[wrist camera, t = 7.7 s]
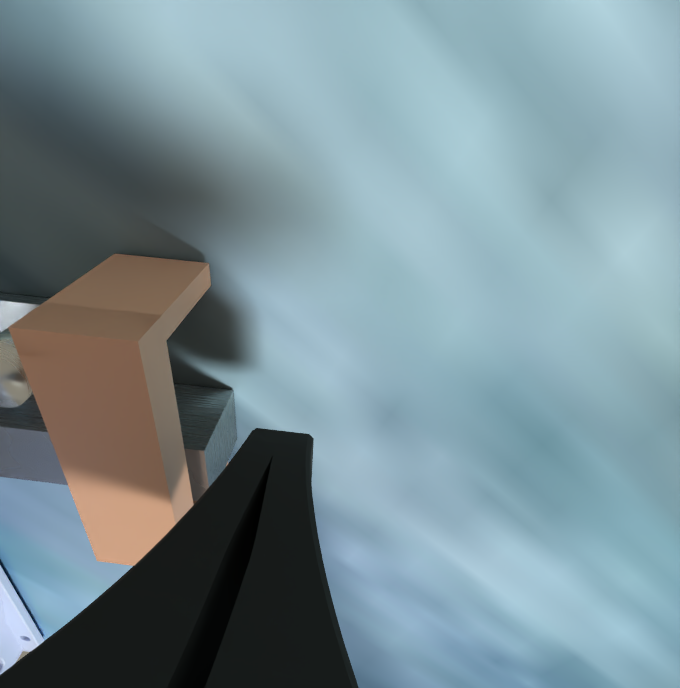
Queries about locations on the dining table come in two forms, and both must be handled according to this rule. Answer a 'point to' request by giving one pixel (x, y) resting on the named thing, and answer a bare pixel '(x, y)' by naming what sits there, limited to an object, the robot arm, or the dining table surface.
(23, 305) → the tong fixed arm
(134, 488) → the sleeve
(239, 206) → the dining table surface
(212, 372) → the dining table surface
